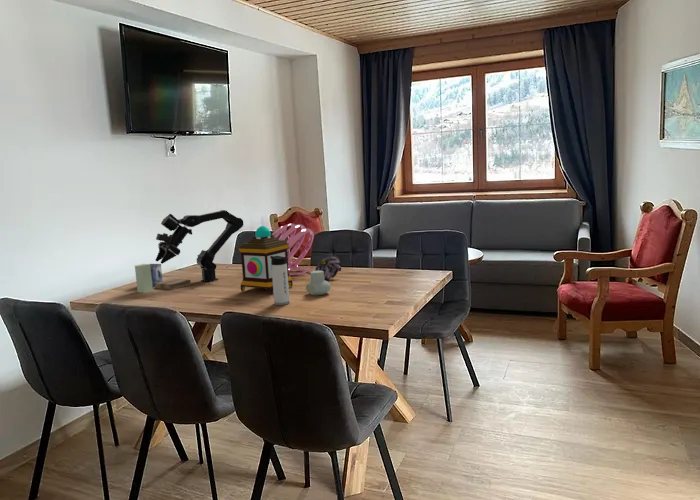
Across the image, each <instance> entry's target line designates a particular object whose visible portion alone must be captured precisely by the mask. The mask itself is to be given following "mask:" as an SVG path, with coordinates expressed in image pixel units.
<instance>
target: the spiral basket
mask: <svg viewBox="0 0 700 500" xmlns="http://www.w3.org/2000/svg"><path fill="white" fill-rule="evenodd" d="M288 227H290V228H288ZM287 228H288V229H287ZM298 228H301V230H300V231H298V232H297V229H298ZM296 232H297V233H296ZM307 233H309V239H308V241H307V244H306V245H305V247H304V249H303V251H302V252H300V255H299V256H298V257H297V258H296V260H295V261H293V262H292V261H291V259H292V258H293V257H294V255H296V253H297V252H298V250H300V247H301V246H302V243H303V242H304V240H305V237H306V234H307ZM271 235H274V237H276V238H277V239H279V240H284V241H285V242H287V243H288V244H289V246H288V249H287V255H288V270H289V276H290V277H295V276H296V277H297V276H301V275H303V274H305V273H308V272H312V270H313V269H314V267H311V268H307V269H305V268H301V267H300V266H298V265H299V264H300V263H301V262H302V260H303V259H304V258H305V256H307V253H308V252H309V251H310V248H311V246H312V244H313V241H314V238H315V236H314V231H313V230H312V229H310V228H306V226H305V225H304V224H300V223H298V224H295V223H288V224H285V225H282V226H279V227H278V228H277V229H275V230H274V232H272V233H271ZM279 235H280V236H279ZM278 237H279V238H278ZM292 247H293V248H292ZM291 248H292V249H291ZM289 251H290V252H289ZM293 270H294V271H298V273H290V272H291V271H293Z"/></svg>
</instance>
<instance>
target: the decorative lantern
mask: <svg viewBox="0 0 700 500" xmlns="http://www.w3.org/2000/svg"><path fill="white" fill-rule="evenodd" d="M254 235H255V236H252V238H250V239H249V240H248V241H247V242H243V243H242V244H241V245H240V246H239V247H237V248H238V251H239V252H240V257H241V269H242V271H241V272H242V280H241V283H240V292H241V293H244V292H245V289H246V288H256V289H264V290H266V292H267V295H269V296H270V295H271V293H272V289H273V279H272V265H271V263H272V262H271V258H270V256H282V257H286V262H287V274H288V288H292V287H293V284H294V283H293V279H292V278H291V277H292V276H289V274H290V272H289V270H288V267H289V266H288V253H287V249H288V246H289V244H288V243H287V242H286V240H279V238H278V237H277V238H276V237H274V236H275V234H274V235H272V233H271V231H270V228H268V227H267V226H265V225H261V226H259V227H258V228H256V230H255V234H254Z"/></svg>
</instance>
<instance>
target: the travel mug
mask: <svg viewBox="0 0 700 500" xmlns="http://www.w3.org/2000/svg"><path fill="white" fill-rule="evenodd" d="M270 258H271V262H272V263H271V265H272V279H273V288H272V292H273V303H274V305H275V306H286V305H288V304H290V292H289V291H290V290H289V283H288V274H287V262H286V257H282V256H270Z"/></svg>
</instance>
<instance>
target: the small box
mask: <svg viewBox="0 0 700 500" xmlns="http://www.w3.org/2000/svg"><path fill="white" fill-rule="evenodd" d="M149 264H150V267H151V277H152V286H153V288H154V287H155V283H158V282H162V281H164V280H163V273H162V272H163V271H162V263H149Z"/></svg>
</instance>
